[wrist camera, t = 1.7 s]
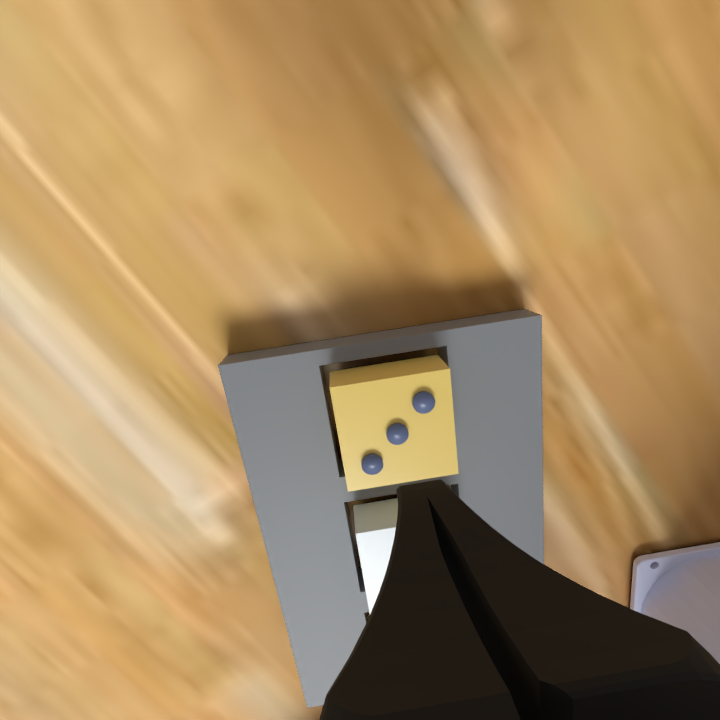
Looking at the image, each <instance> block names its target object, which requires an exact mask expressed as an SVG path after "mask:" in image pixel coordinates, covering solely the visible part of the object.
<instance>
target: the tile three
mask: <svg viewBox="0 0 720 720" xmlns="http://www.w3.org/2000/svg"><path fill="white" fill-rule="evenodd" d="M330 393H331V399H332V404H333V410H334V416H335V421H336V427H337V433H338V438H339V444H340V450H341V455H342V461H343V467H344V472H345V478H346V483H347V489H348V492H350V491H356V490H362V489H368V488H374V487H380V486H386V485H392V484H398V483H405V482H411V481H417V480H423V479H429V478H435V477H441V476H447V475H453V474H459V473H458V460H457V448H456V436H455V423H454V411H453V399H452V386H451V374H450V368H449V367H448V366H447V365H446V364H445V362H444V361H443V360H442V359H441V358H440V357H439V356H438V355H432V356H426V357H419V358H413V359H406V360H400V361H394V362H387V363H381V364H375V365H368V366H362V367H356V368H349V369H343V370H336V371H330Z"/></svg>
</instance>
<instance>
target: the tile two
mask: <svg viewBox="0 0 720 720" xmlns="http://www.w3.org/2000/svg"><path fill="white" fill-rule="evenodd" d="M353 509H354V522H355V534H356V540H357V545H358V551H359V557H360V562H361V568H362V574H363V579H364V585H365V591H366V596H367V602H368V607H369V613H370V614H371V611H372V609H373V606H374V604H375V601H376V599H377V596H378V594H379V591H380V588H381V585H382V582H383V579H384V576H385V573H386V570H387V566H388V563H389V559H390V555H391V550H392V546H393V541H394V537H395V530H396V523H397V514H398V499H397V498H395V499H389V500H383V501H377V502H371V503H365V504H358V505H353Z"/></svg>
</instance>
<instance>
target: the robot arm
mask: <svg viewBox="0 0 720 720" xmlns="http://www.w3.org/2000/svg"><path fill="white" fill-rule="evenodd" d="M396 492H397V499H398V514H397V523H396V530H395V537H394V541H393V546H392V550H391V555H390V559H389V563H388V566H387V570H386V573H385V576H384V579H383V582H382V585H381V588H380V591H379V594H378V596H377V599H376V601H375V604H374V606H373V609H372V611H371V614H370V616H369V618H368V620H367V623H366V625H365V627H364V629H363V631H362V633H361V635H360V637H359V639H358V641H357V643H356V645H355V647H354V649H353V651H352V653H351V654H350V656H349V658H348V660H347V662H346V663H345V665H344V666H343V668H342V670H341V671H340V673H339V675H338V676H337V678H336V680H335V681H334V683H333V685H332V686H331V688H330V689H329V691H328V693H327V694H326V698H325V701H324V705H323V709H322V713H321V717H320V720H720V542H717V543H711V544H706V545H700V546H694V547H688V548H682V549H676V550H670V551H664V552H658V553H652V554H647V555H641V556H638V557H637V558H636V559H635V560H634V563H633V574H632V588H631V601H630V608H627V607H625V606H623V605H621V604H619V603H616V602H614V601H612V600H610V599H608V598H606V597H603V596H601V595H599V594H597V593H595V592H593V591H591V590H589V589H587V588H585V587H583V586H581V585H579V584H577V583H576V582H574V581H572V580H570V579H568V578H567V577H565V576H563V575H561V574H559V573H558V572H556V571H554V570H552V569H551V568H549V567H547V566H546V565H544V564H542V563H541V562H539V561H538V560H536V559H535V558H533V557H532V556H530V555H529V554H527V553H526V552H524V551H523V550H521V549H520V548H518V547H517V546H516V545H514V544H513V543H512V542H510V541H509V540H508V539H506V538H505V537H504V536H503V535H501V534H500V533H499V532H497V531H496V530H495V529H494V528H493V527H491V526H490V525H489V524H488V523H487V522H486V521H484V520H483V519H482V518H481V517H480V516H479V515H478V514H476V513H475V512H474V511H473V510H472V509H471V508H470V507H469V506H468V505H467V504H465V503H464V502H463V501H462V500H461V499H460V498H459V497H458V496H457V495H456V494H455V493H454V492H453V491H452V490H451V489H450V488H449V487H448V486H447V484H446V483H445V482H443V481H442V480H441V479H439V480H433V481H427V482H421V483H415V484H409V485H403V486H399V487H398V489H397V490H396Z"/></svg>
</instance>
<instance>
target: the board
mask: <svg viewBox="0 0 720 720" xmlns="http://www.w3.org/2000/svg"><path fill="white" fill-rule="evenodd" d="M436 347H439V357H440V358H441V359H442V360H443V361H444V362H445V364H446V365H447V366H448V367H449V368H450V374H451V386H452V399H453V411H454V423H455V436H456V448H457V460H458V473H459V474H453V475H447V476H441V477H435V478H429V479H423V480H417V481H411V482H405V483H398V484H392V485H386V486H380V487H374V488H368V489H362V490H356V491H350V492H348V489H347V483H346V478H345V472H344V467H343V461H342V459H340V460H339V457H338V452H337V446H336V441H335V435H334V430H333V424H332V419H331V413H330V408H329V402H328V396H327V391H326V385H325V380H324V374H323V369H322V365H327V364H334V363H340V362H346V361H353V360H359V359H365V358H372V357H378V356H385V355H391V354H397V353H404V352H410V351H416V350H423V349H429V348H436ZM218 367H219V371H220V375H221V379H222V383H223V387H224V390H225V394H226V398H227V402H228V406H229V410H230V413H231V417H232V421H233V425H234V429H235V433H236V436H237V440H238V444H239V448H240V452H241V456H242V459H243V463H244V467H245V471H246V475H247V479H248V482H249V486H250V490H251V494H252V498H253V502H254V505H255V509H256V513H257V517H258V521H259V524H260V528H261V532H262V536H263V540H264V544H265V547H266V551H267V555H268V559H269V563H270V567H271V570H272V574H273V578H274V582H275V586H276V590H277V593H278V597H279V601H280V605H281V609H282V613H283V616H284V620H285V624H286V628H287V632H288V636H289V639H290V643H291V647H292V651H293V655H294V659H295V662H296V666H297V670H298V674H299V678H300V682H301V685H302V689H303V693H304V697H305V701H306V705H307V708H310V707H316V706H321V705H324V701H325V698H326V694H327V693H328V691H329V689H330V688H331V686H332V685H333V683H334V681H335V680H336V678H337V676H338V675H339V673H340V671H341V670H342V668H343V666H344V665H345V663H346V662H347V660H348V658H349V656H350V654H351V653H352V651H353V649H354V647H355V645H356V643H357V641H358V639H359V637H360V635H361V633H362V631H363V629H364V627H365V625H366V623H367V620H368V618H367V613H366V612H369V607H368V602H367V596H366V591H365V585H364V579H363V574H362V568H358V563H357V557H356V552H355V546H354V541H353V535H352V530H351V524H350V518H349V513H348V507H347V502H349V501H355V500H362V499H368V498H374V497H380V496H386V495H392V494H397V492H396V490H397V489H398V487H399V486H403V485H409V484H415V483H421V482H427V481H433V480H439V479H441V480H442V481H443V482H445V483H446V484H447V485H451V490H452V491H453V492H454V493H455V494H456V495H457V496H458V497H459V498H460V499H461V500H462V501H463V502H464V503H465V504H467V505H468V506H469V507H470V508H471V509H472V510H473V511H474V512H475V513H476V514H478V515H479V516H480V517H481V518H482V519H483V520H484V521H486V522H487V523H488V524H489V525H490V526H491V527H493V528H494V529H495V530H496V531H497V532H499V533H500V534H501V535H503V536H504V537H505V538H506V539H508V540H509V541H510V542H512V543H513V544H514V545H516V546H517V547H518V548H520V549H521V550H523V551H524V552H526V553H527V554H529V555H530V556H532V557H533V558H535V559H536V560H538V561H539V562H541V563H542V564H544V533H543V424H542V315H540V314H537V313H534V312H532V311H529V310H526V309H521V310H514V311H508V312H502V313H495V314H489V315H482V316H476V317H469V318H463V319H457V320H450V321H444V322H437V323H431V324H424V325H418V326H411V327H405V328H399V329H392V330H386V331H379V332H373V333H366V334H360V335H354V336H347V337H341V338H334V339H328V340H321V341H315V342H308V343H302V344H296V345H289V346H283V347H276V348H270V349H263V350H257V351H251V352H244V353H238V354H231V355H227V356H226V357H225V358H224V359H223V361H222V362H221V363H220V364H219V365H218Z"/></svg>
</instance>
